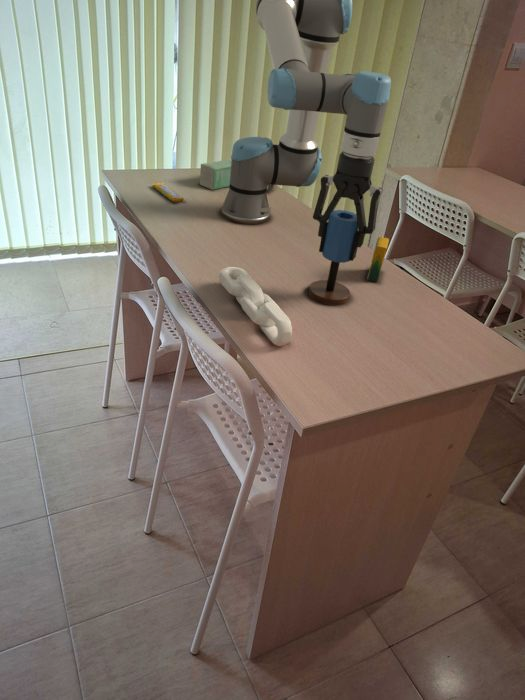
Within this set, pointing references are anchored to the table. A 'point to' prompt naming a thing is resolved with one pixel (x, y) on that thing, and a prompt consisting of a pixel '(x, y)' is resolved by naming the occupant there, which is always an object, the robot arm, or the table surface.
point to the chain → (257, 305)
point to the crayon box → (378, 258)
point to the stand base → (329, 293)
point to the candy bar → (167, 192)
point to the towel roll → (340, 236)
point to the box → (215, 174)
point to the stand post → (332, 276)
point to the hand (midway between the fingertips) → (337, 254)
